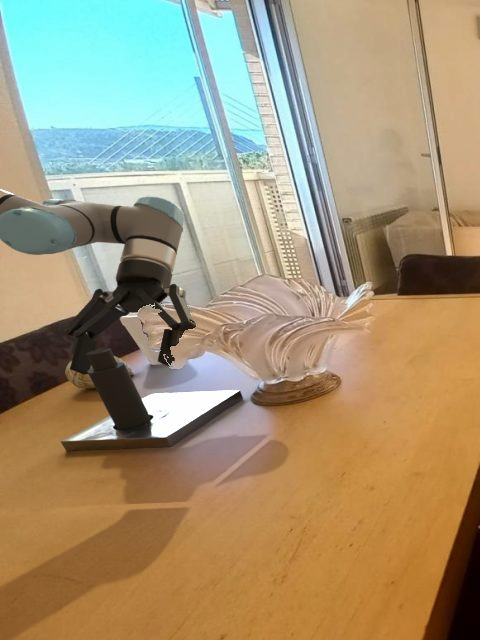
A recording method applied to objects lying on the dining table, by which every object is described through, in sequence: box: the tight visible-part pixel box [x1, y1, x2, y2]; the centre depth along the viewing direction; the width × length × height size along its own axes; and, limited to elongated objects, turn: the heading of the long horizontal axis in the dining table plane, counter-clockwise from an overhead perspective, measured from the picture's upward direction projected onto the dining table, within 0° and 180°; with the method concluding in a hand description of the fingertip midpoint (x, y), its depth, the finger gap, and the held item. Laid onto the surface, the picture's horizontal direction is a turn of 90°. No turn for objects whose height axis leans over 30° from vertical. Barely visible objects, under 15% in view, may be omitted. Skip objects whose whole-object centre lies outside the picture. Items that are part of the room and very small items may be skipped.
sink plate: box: [60, 389, 244, 452], centre depth 90 cm, size 18×18×2 cm
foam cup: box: [119, 312, 163, 366], centre depth 118 cm, size 10×9×13 cm
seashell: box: [64, 355, 134, 390], centre depth 107 cm, size 10×10×10 cm
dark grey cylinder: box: [86, 347, 151, 430], centre depth 84 cm, size 5×5×16 cm
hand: (122, 368), depth 86 cm, fingers open, 13 cm apart
